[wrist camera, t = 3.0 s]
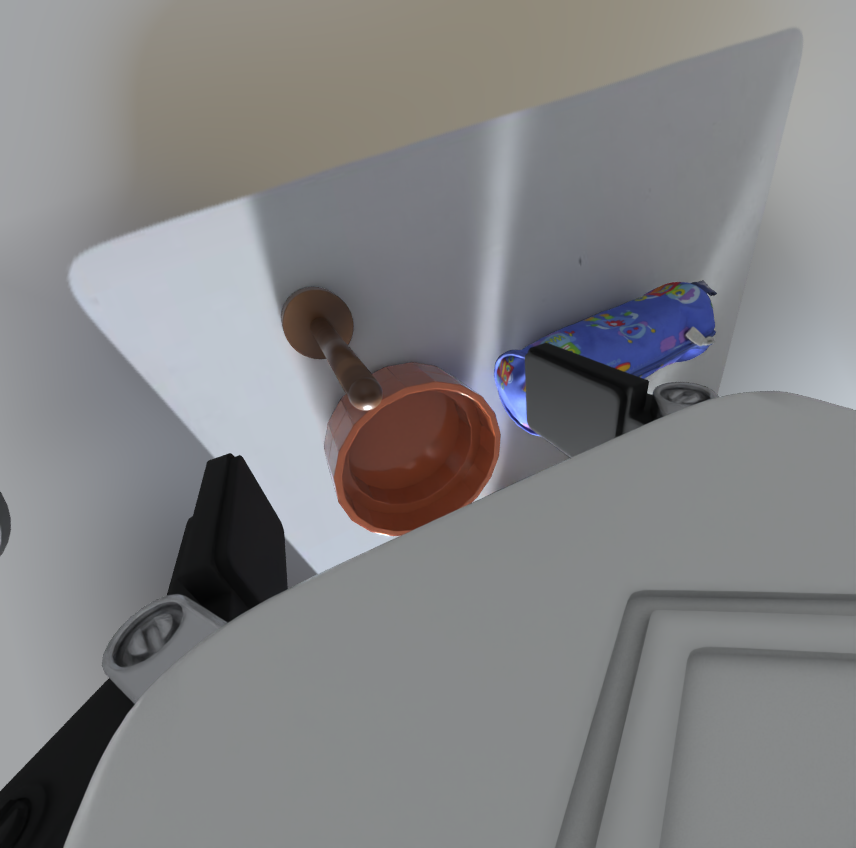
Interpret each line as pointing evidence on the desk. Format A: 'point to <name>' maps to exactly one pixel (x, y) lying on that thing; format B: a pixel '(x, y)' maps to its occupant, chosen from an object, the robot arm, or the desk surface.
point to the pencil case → (623, 339)
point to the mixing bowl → (411, 450)
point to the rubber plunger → (329, 341)
